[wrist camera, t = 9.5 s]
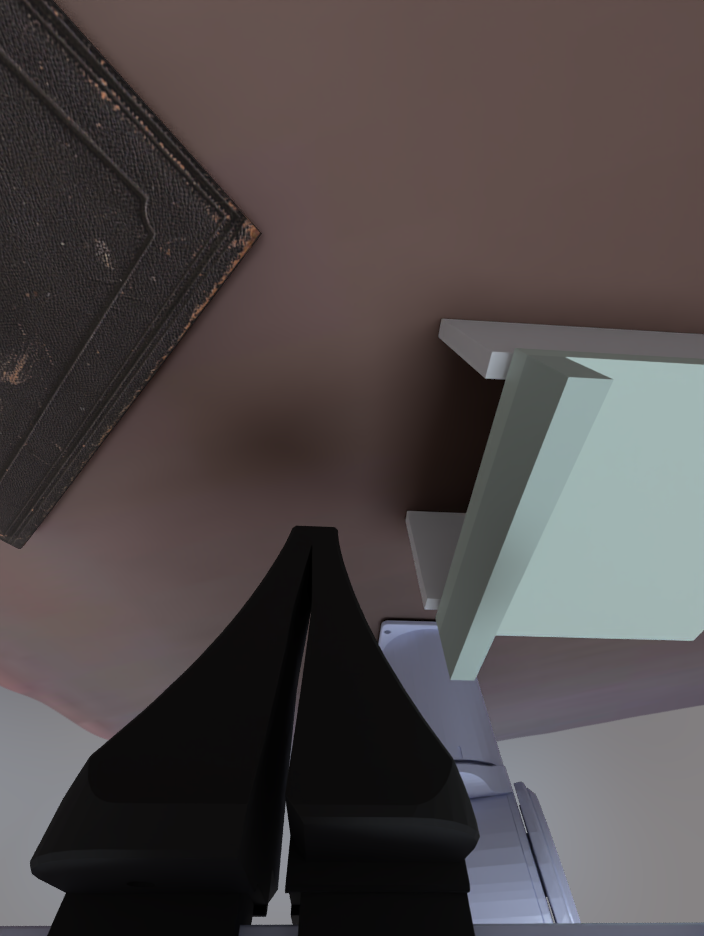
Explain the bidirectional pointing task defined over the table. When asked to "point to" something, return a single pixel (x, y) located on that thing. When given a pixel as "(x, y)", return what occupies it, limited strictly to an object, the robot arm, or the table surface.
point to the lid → (583, 507)
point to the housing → (491, 358)
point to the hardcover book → (88, 254)
